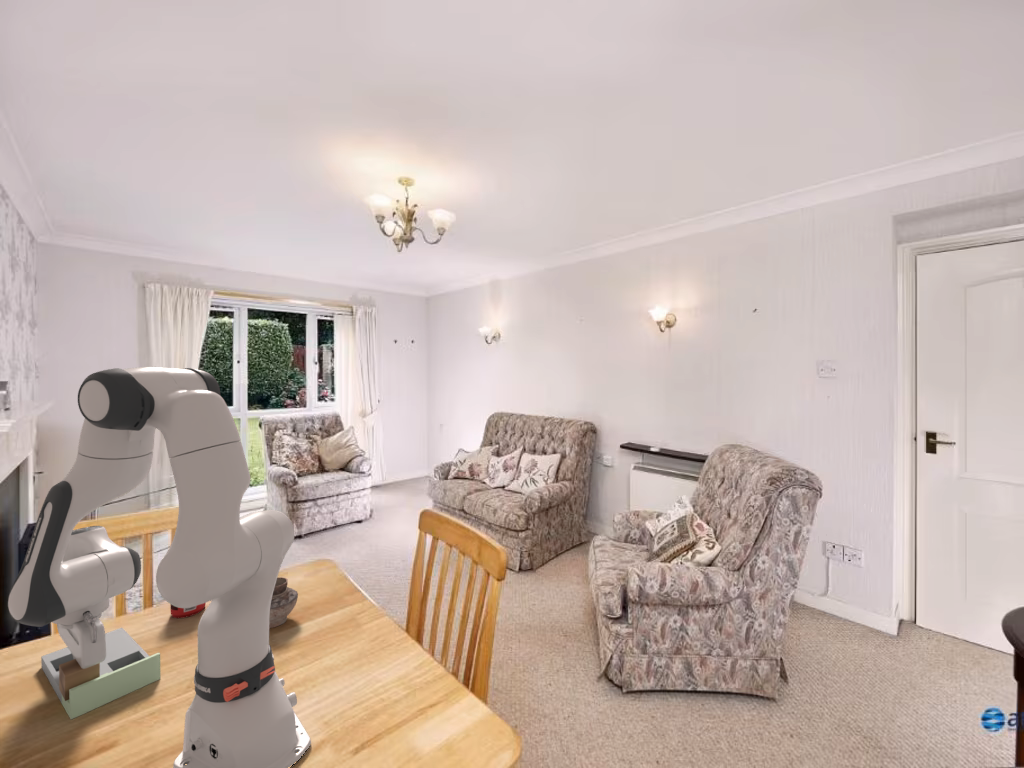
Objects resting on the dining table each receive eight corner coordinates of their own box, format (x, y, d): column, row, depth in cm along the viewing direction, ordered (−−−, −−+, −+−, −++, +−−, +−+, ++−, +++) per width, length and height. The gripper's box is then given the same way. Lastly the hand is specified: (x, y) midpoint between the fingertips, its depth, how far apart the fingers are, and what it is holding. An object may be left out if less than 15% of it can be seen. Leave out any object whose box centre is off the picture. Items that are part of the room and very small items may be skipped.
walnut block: (99, 686, 90) (99, 662, 90) (65, 701, 86) (65, 676, 86) (92, 675, 93) (92, 652, 93) (59, 689, 89) (59, 664, 89)
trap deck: (160, 678, 96) (160, 653, 96) (70, 719, 85) (70, 691, 85) (122, 637, 111) (121, 615, 111) (41, 667, 100) (41, 643, 100)
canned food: (212, 604, 127) (212, 566, 127) (189, 619, 119) (189, 579, 119) (187, 603, 128) (187, 565, 128) (163, 618, 120) (162, 577, 120)
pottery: (234, 601, 129) (234, 560, 129) (307, 614, 123) (307, 571, 122) (198, 622, 118) (197, 577, 118) (275, 637, 112) (275, 590, 112)
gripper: (116, 614, 90) (116, 681, 90) (88, 585, 102) (88, 645, 102) (72, 628, 85) (73, 700, 85) (48, 596, 96) (49, 659, 97)
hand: (81, 669), depth 94 cm, fingers closed
